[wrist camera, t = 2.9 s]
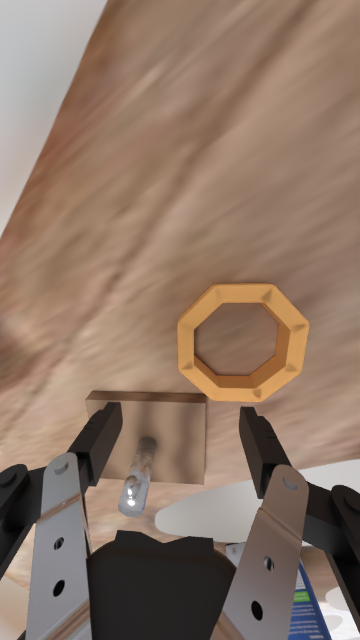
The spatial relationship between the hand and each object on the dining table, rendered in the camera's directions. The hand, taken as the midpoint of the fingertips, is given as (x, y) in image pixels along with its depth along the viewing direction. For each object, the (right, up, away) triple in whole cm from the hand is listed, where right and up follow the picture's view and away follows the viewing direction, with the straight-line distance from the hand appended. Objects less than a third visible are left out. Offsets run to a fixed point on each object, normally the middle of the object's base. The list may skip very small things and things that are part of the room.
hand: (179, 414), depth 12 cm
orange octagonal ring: (+8, +4, +13) cm, 16 cm away
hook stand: (-5, -13, +18) cm, 23 cm away
